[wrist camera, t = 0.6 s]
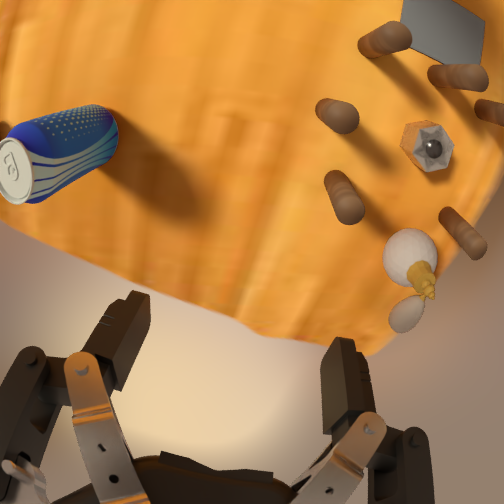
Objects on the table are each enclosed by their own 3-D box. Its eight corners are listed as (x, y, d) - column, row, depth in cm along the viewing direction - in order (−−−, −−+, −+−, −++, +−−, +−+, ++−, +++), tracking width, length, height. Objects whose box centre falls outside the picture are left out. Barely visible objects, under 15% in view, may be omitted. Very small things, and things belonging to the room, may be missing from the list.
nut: (408, 112, 28) (423, 116, 25) (441, 127, 28) (458, 133, 25) (396, 156, 31) (408, 165, 28) (428, 169, 31) (443, 179, 28)
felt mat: (406, -23, 18) (407, -23, 18) (484, 21, 18) (485, 21, 18) (396, 41, 24) (397, 41, 24) (476, 82, 24) (476, 82, 24)
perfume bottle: (432, 223, 35) (473, 274, 25) (410, 281, 40) (438, 339, 30) (384, 215, 35) (418, 268, 25) (366, 277, 40) (386, 339, 30)
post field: (333, 24, 24) (350, 4, 16) (492, 98, 24) (536, 108, 16) (297, 183, 34) (300, 214, 27) (449, 227, 35) (480, 262, 27)
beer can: (131, 113, 31) (44, 141, 18) (114, 172, 36) (37, 226, 22) (82, 96, 30) (-9, 119, 16) (69, 152, 34) (-13, 196, 21)
